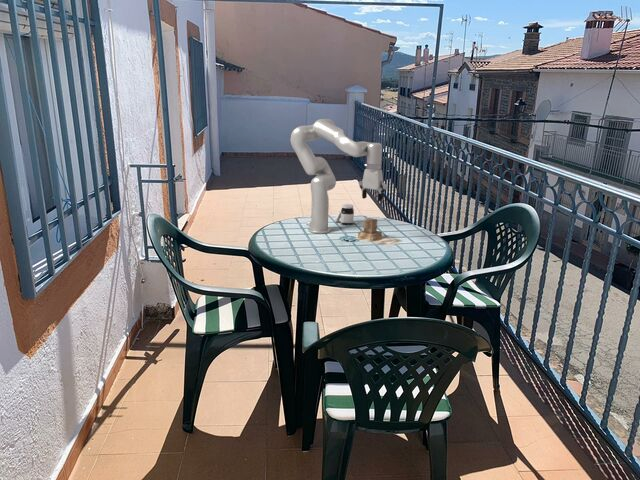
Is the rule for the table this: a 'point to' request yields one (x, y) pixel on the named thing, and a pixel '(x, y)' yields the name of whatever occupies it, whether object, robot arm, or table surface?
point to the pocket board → (377, 238)
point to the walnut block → (370, 225)
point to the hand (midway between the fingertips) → (372, 199)
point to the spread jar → (346, 215)
